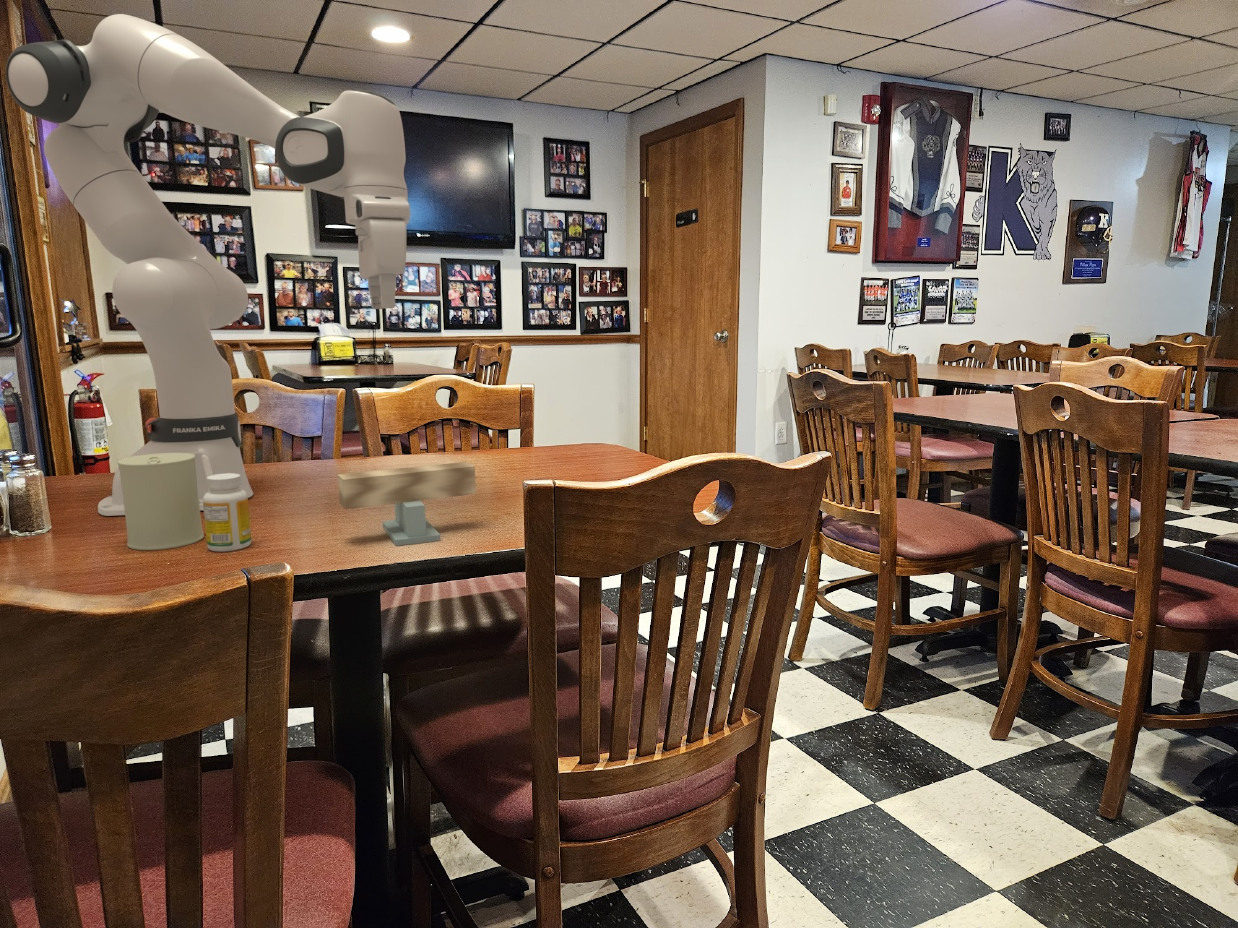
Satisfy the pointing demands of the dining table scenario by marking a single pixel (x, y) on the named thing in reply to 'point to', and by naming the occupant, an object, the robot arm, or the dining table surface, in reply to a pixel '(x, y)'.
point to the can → (161, 500)
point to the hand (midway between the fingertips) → (383, 308)
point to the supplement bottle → (226, 513)
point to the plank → (406, 484)
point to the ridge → (410, 525)
